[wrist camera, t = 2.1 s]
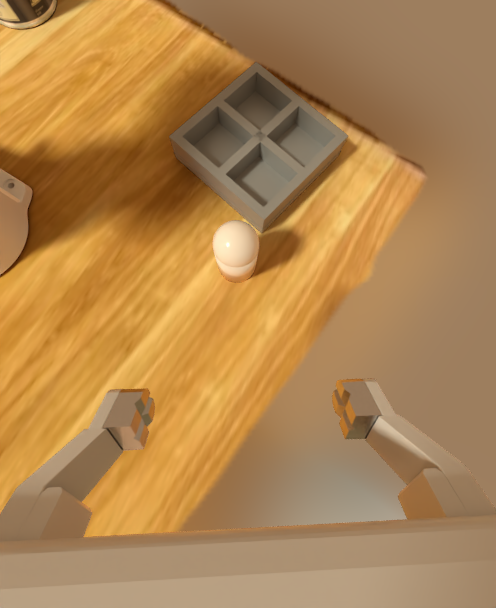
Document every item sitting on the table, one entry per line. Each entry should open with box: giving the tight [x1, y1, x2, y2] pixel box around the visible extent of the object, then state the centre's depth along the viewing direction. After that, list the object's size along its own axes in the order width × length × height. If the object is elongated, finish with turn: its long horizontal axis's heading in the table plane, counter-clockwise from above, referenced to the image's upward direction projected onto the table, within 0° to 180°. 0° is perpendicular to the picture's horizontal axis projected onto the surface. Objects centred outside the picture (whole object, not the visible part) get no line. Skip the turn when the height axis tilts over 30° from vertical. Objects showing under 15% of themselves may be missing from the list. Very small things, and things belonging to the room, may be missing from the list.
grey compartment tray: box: [169, 62, 348, 233], centre depth 33 cm, size 17×17×4 cm
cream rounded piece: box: [213, 220, 259, 283], centre depth 27 cm, size 5×5×9 cm
